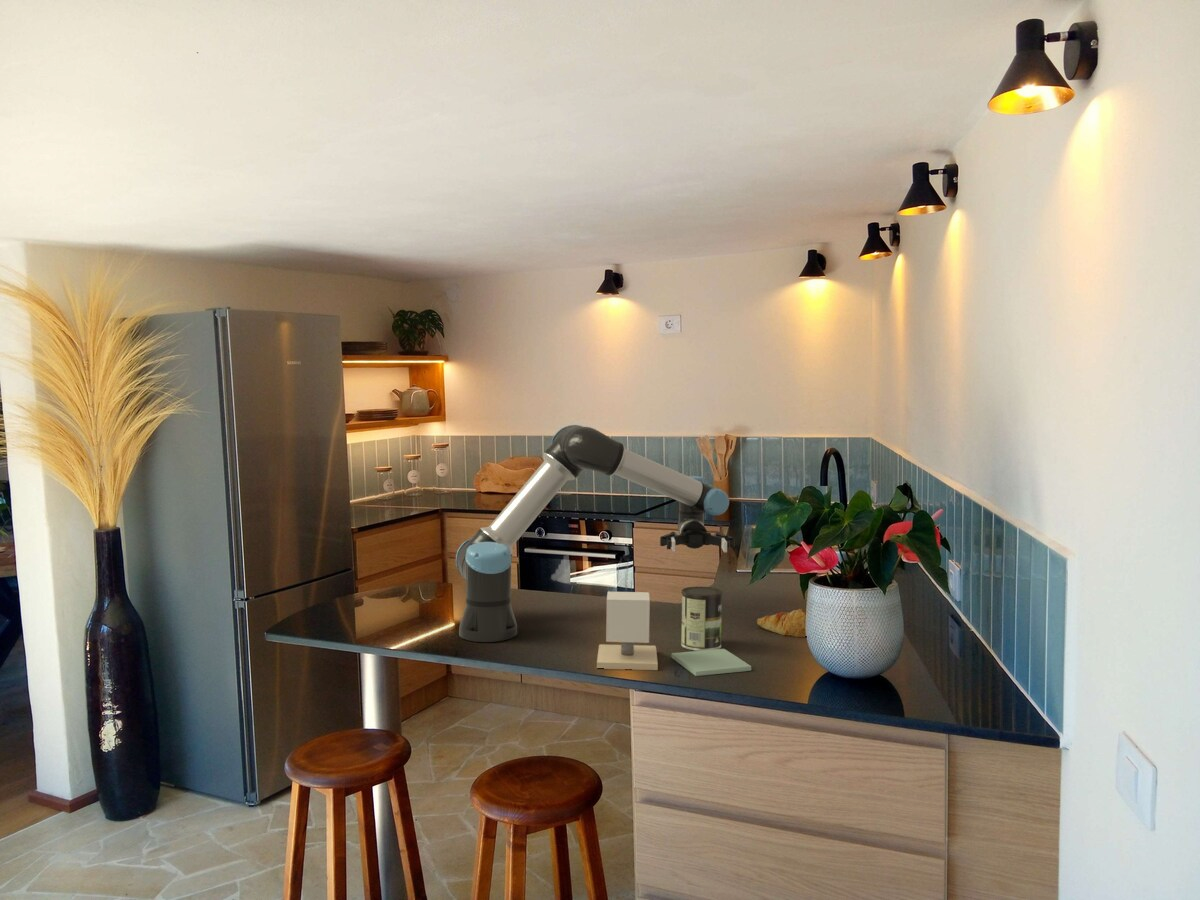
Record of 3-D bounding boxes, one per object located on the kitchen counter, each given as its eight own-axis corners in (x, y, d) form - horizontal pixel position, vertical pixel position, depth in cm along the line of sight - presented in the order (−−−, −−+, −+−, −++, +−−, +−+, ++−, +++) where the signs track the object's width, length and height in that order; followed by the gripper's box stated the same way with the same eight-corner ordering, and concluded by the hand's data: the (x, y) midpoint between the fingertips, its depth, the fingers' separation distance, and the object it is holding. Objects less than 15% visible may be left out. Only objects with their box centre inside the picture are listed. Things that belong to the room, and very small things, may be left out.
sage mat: (695, 676, 187) (695, 671, 187) (671, 657, 200) (671, 653, 200) (751, 670, 191) (751, 666, 191) (724, 652, 204) (724, 648, 204)
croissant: (754, 642, 225) (750, 620, 221) (762, 618, 233) (759, 596, 229) (833, 652, 216) (831, 629, 212) (839, 626, 224) (837, 603, 220)
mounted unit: (596, 668, 191) (597, 602, 190) (599, 650, 205) (599, 588, 204) (657, 670, 190) (658, 603, 189) (655, 651, 204) (656, 589, 203)
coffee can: (718, 639, 215) (719, 586, 214) (723, 652, 205) (725, 595, 204) (678, 639, 215) (679, 585, 214) (682, 651, 205) (683, 595, 204)
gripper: (736, 547, 239) (747, 561, 218) (650, 545, 240) (652, 560, 219) (737, 521, 239) (747, 533, 218) (650, 520, 240) (652, 532, 219)
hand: (699, 547), depth 218 cm, fingers open, 13 cm apart
